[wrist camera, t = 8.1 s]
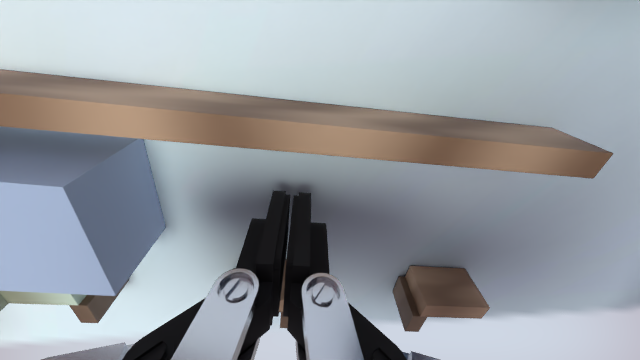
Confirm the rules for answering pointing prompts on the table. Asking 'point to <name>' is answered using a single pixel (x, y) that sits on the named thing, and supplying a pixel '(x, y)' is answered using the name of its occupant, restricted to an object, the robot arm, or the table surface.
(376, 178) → the table surface
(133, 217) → the block
